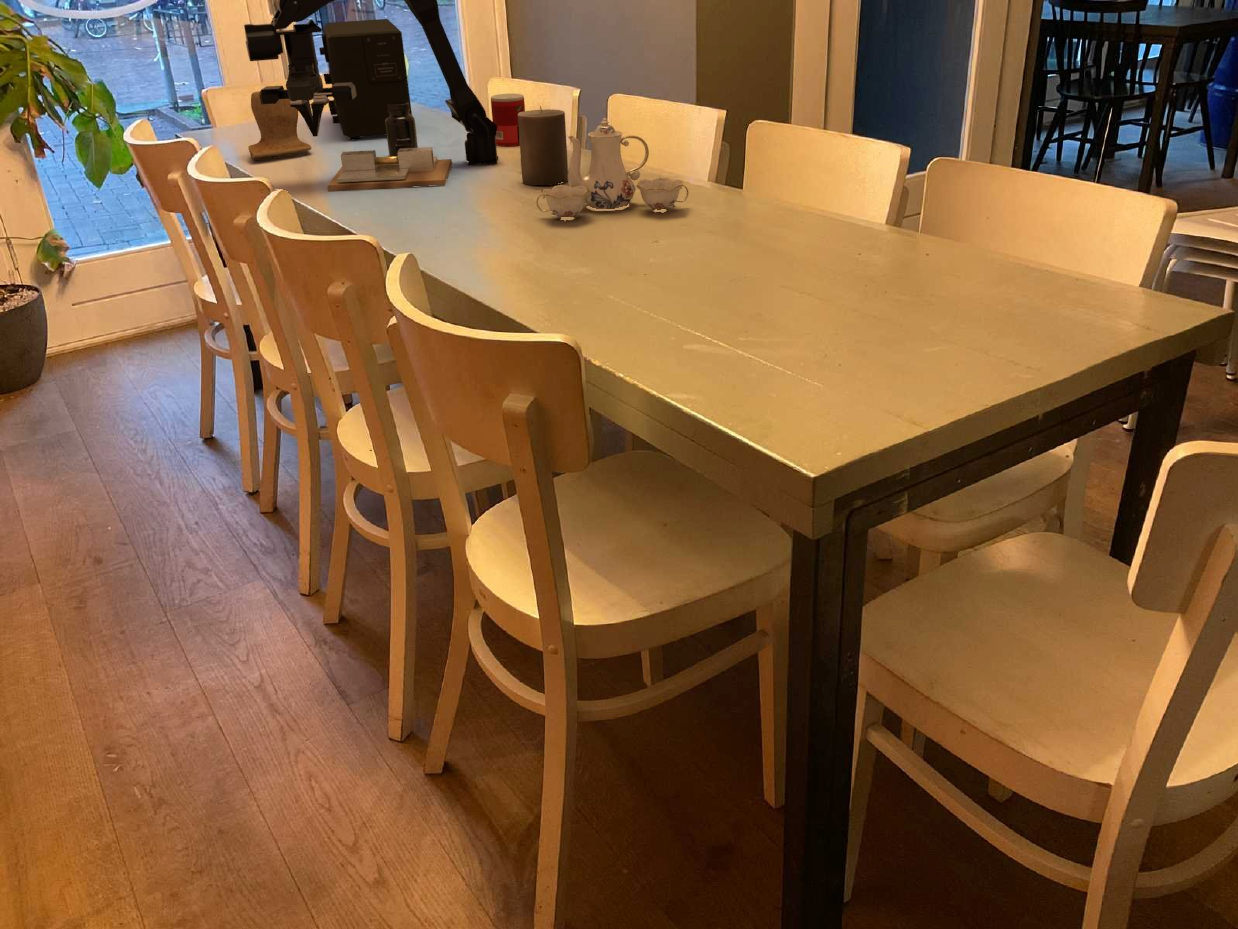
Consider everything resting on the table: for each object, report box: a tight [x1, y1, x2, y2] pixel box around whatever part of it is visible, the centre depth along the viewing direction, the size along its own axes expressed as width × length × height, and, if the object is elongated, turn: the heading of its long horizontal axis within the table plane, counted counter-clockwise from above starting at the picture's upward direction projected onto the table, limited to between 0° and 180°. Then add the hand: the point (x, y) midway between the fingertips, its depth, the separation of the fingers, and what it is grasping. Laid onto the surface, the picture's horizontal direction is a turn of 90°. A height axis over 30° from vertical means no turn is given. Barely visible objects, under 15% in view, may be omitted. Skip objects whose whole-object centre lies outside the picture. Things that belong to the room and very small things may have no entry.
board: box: [327, 158, 453, 192], centre depth 220 cm, size 24×20×1 cm
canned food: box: [490, 93, 526, 147], centre depth 245 cm, size 8×8×11 cm
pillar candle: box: [518, 106, 569, 186], centre depth 209 cm, size 10×10×15 cm
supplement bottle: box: [385, 102, 419, 157], centre depth 235 cm, size 7×7×12 cm
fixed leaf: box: [378, 146, 439, 173], centre depth 221 cm, size 14×11×4 cm
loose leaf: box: [337, 149, 409, 182], centre depth 215 cm, size 14×11×4 cm
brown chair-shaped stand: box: [247, 90, 313, 161], centre depth 240 cm, size 15×12×15 cm
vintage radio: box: [318, 18, 413, 141], centre depth 267 cm, size 38×20×25 cm, turn 16°
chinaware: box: [535, 117, 689, 218], centre depth 186 cm, size 28×17×17 cm, turn 106°
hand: (315, 136), depth 215 cm, fingers closed
